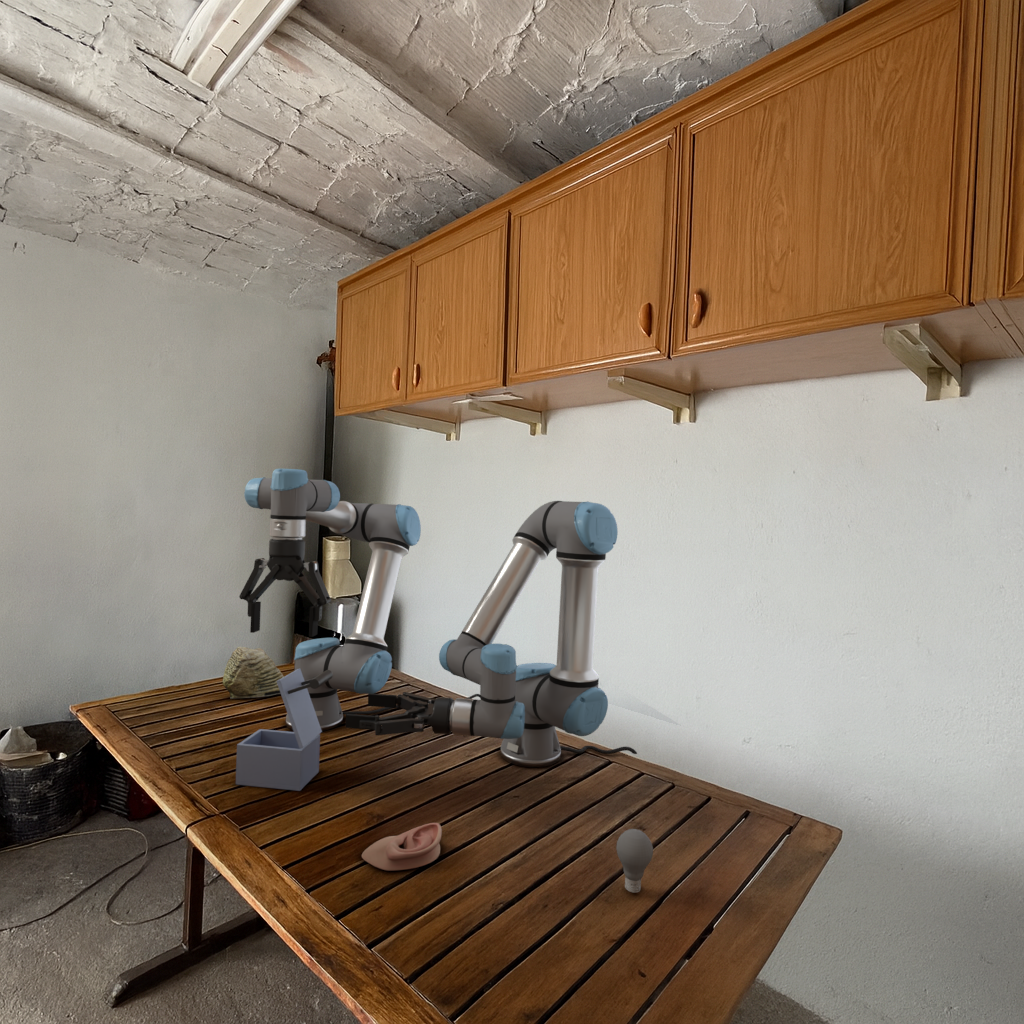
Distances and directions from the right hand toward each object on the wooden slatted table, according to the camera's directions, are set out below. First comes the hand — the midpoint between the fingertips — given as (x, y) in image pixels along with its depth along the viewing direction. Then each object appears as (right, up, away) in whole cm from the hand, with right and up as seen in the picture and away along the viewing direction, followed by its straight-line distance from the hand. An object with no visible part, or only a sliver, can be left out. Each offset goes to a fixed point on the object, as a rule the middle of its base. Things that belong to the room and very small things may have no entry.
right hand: (357, 709), depth 139 cm
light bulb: (+54, -20, -33) cm, 67 cm away
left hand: (-17, +16, +2) cm, 24 cm away
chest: (-18, -16, +3) cm, 25 cm away
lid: (-14, 0, +2) cm, 14 cm away
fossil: (-47, -14, +59) cm, 77 cm away
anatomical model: (+14, -18, -25) cm, 34 cm away
